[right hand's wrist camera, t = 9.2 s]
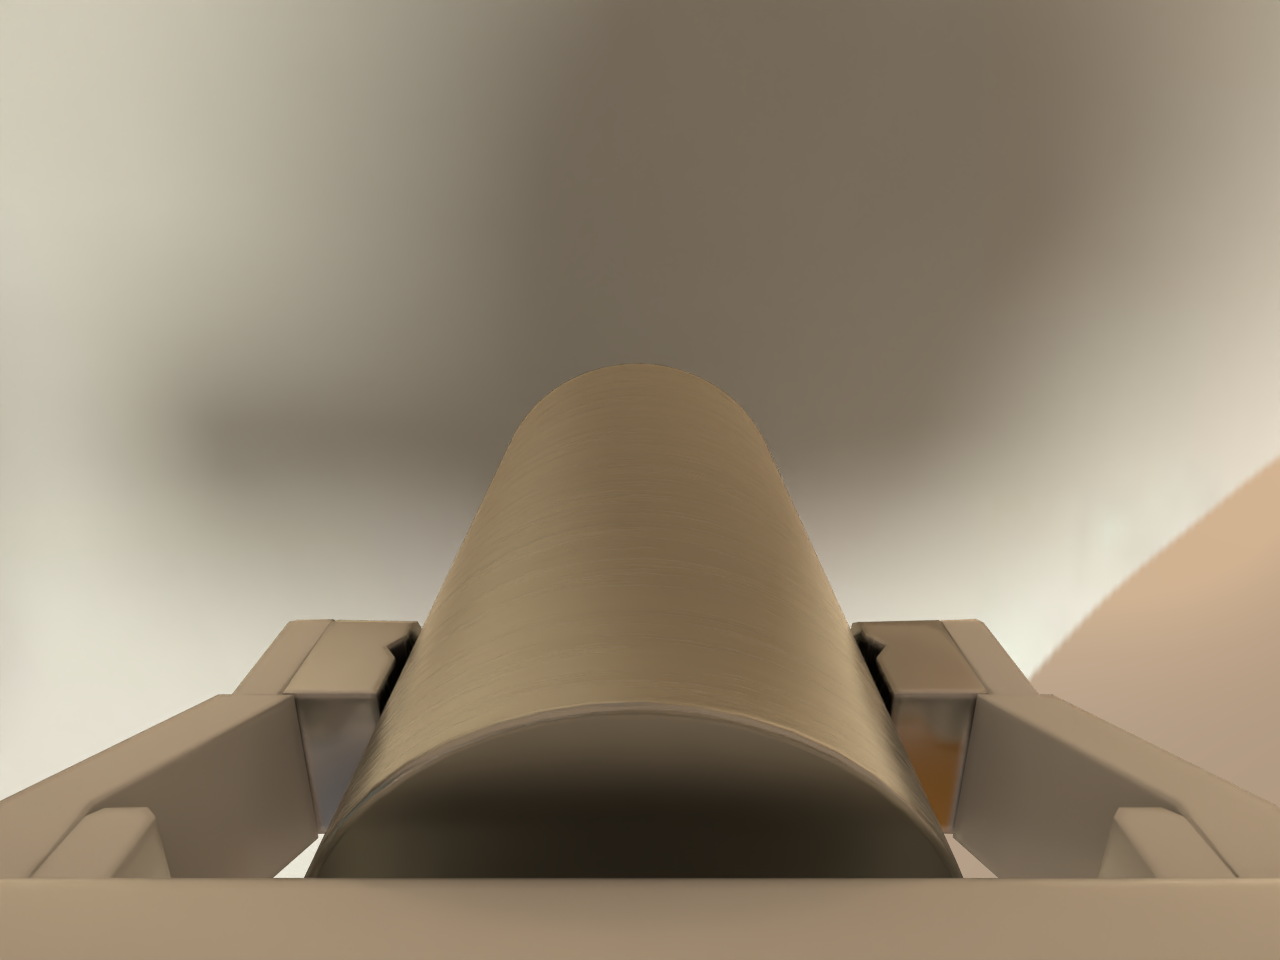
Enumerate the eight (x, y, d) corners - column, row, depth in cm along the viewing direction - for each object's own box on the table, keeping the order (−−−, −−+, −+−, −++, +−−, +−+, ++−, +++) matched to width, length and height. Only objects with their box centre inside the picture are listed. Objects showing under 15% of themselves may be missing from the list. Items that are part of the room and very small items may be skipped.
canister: (487, 598, 17) (283, 1177, 7) (515, 341, 15) (288, 655, 5) (744, 634, 17) (879, 1236, 7) (803, 386, 15) (1082, 763, 6)
